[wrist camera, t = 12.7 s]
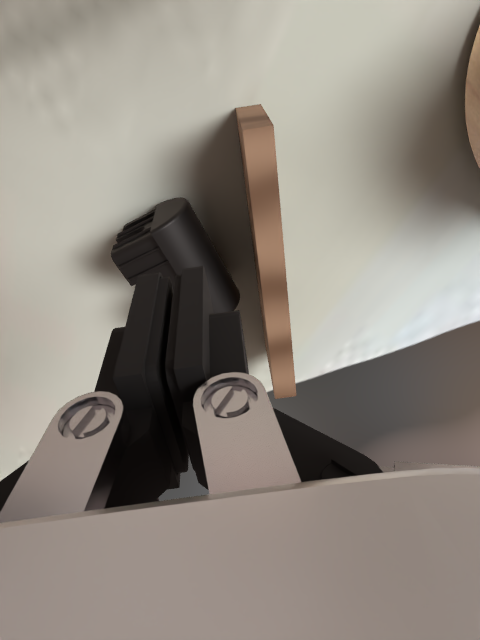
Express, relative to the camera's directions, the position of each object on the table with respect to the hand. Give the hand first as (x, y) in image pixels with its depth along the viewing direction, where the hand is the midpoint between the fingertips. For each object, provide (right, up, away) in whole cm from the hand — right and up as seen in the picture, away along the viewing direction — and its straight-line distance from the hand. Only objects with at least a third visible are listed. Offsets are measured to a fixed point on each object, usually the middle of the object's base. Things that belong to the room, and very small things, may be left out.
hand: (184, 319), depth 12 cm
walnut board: (+4, +7, +31) cm, 32 cm away
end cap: (-4, +7, +31) cm, 32 cm away
